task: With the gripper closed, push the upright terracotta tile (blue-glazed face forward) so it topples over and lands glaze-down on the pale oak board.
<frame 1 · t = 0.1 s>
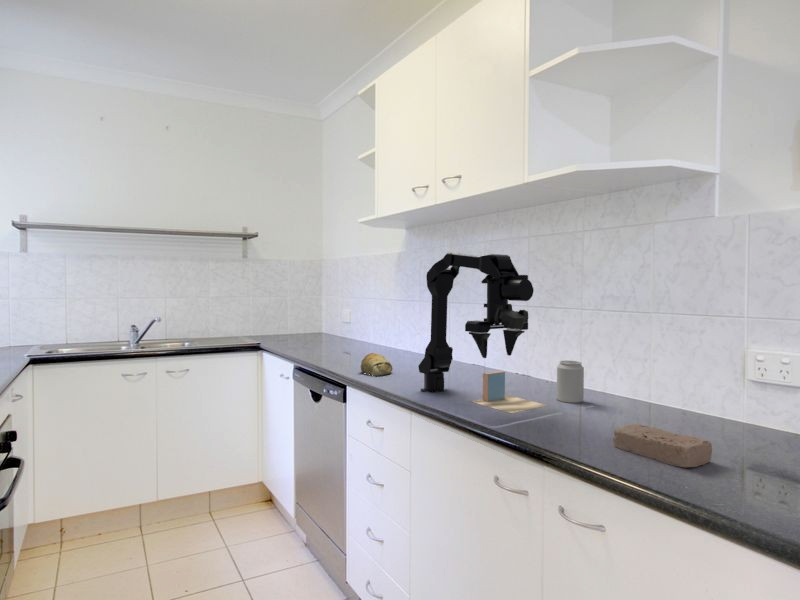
hand: (497, 356, 138), 15 cm above the table, fingers open, 9 cm apart
can: (569, 402, 147), on the table
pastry: (376, 374, 195), on the table
board: (508, 405, 142), on the table
brick: (659, 456, 102), on the table
tile: (493, 399, 147), point 1 cm above the table, touching board
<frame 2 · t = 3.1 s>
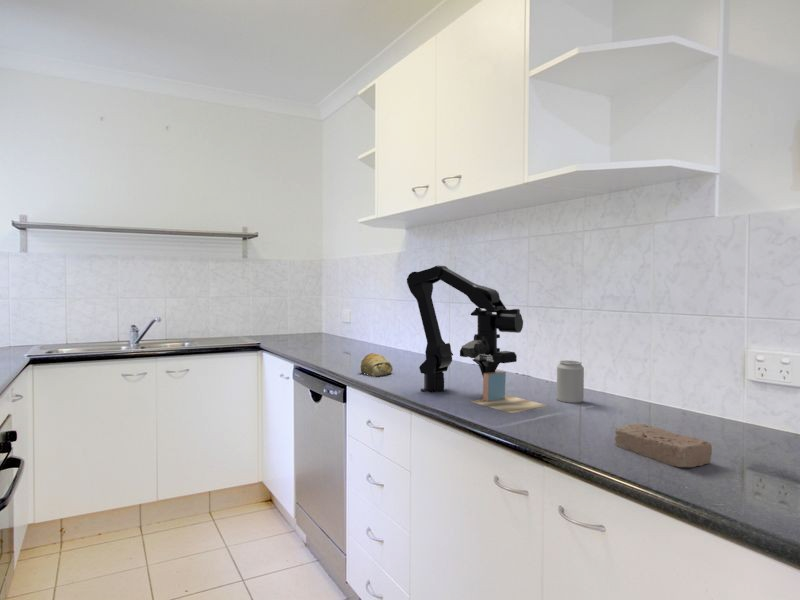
hand: (487, 383, 150), 5 cm above the table, fingers closed
tile: (493, 399, 147), point 1 cm above the table, touching board, gripper
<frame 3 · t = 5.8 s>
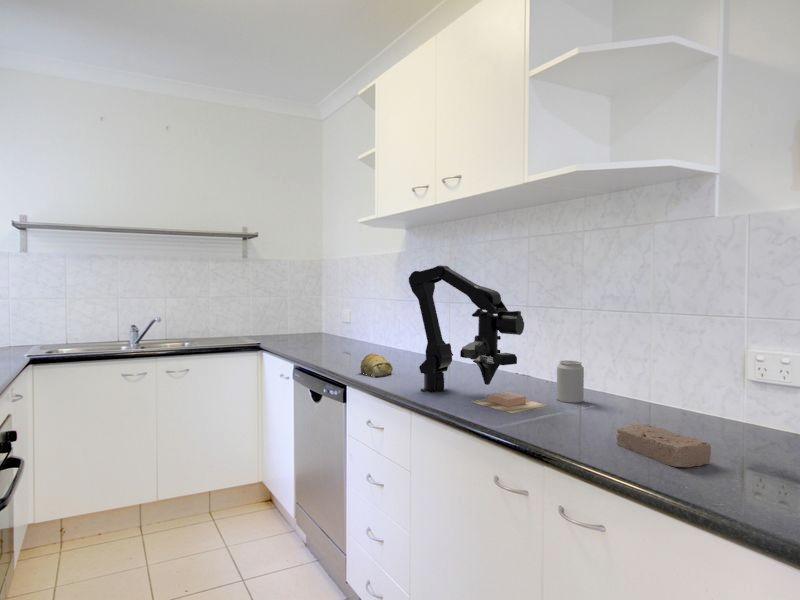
hand: (487, 384, 149), 5 cm above the table, fingers closed
tile: (496, 396, 146), point 2 cm above the table, tilted 90°, touching board
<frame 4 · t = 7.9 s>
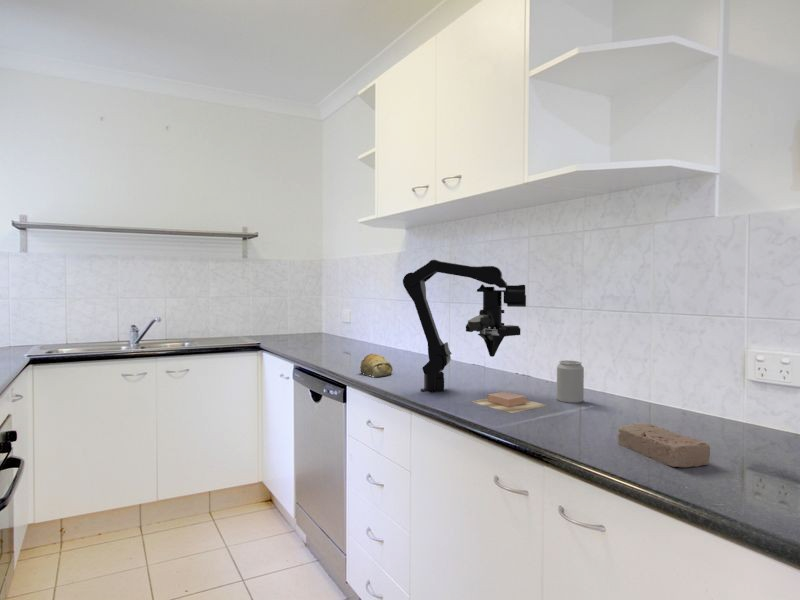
hand: (491, 356, 156), 12 cm above the table, fingers closed
at the end: tile tilted 90°; tile inside the target area on the board (5.9 cm from its centre), point 1.7 cm above the board's base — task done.
